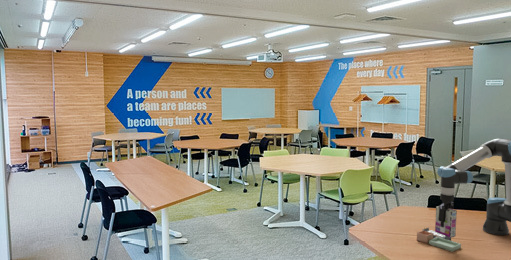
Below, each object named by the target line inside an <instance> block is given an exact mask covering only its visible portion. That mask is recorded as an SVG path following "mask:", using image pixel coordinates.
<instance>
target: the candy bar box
mask: <svg viewBox="0 0 511 260" xmlns="http://www.w3.org/2000/svg"><path fill="white" fill-rule="evenodd" d="M445 210H446V209H445ZM457 211H458V210H457V209H454V208H453V209H451V208H448V209H447V210H446V218H445V222H446V225H445V233H443V232H440V223H441V221H439V205H438V206H435V223H434V224H435V225H434V226H435V227H434V231H435V232H437V233H439V234H442V235H445V236H447V237H450V238H451V239H452V238H455V237H456V234H457V233H456V231H457V230H456V229H457Z"/></svg>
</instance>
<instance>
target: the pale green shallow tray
mask: <svg viewBox="0 0 511 260" xmlns="http://www.w3.org/2000/svg"><path fill="white" fill-rule="evenodd" d="M428 245H429V246H433V247H436V248H440V249H443V250H445V251H449V252H450V253H451V252H452V253H453V252H455V251H457V250H459V249H461V248H462V243H459V242H456V241H452V240H451V241H450V240H447V239H443V238H440V237H436V238H434V239H431V240H429V243H428Z"/></svg>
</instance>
